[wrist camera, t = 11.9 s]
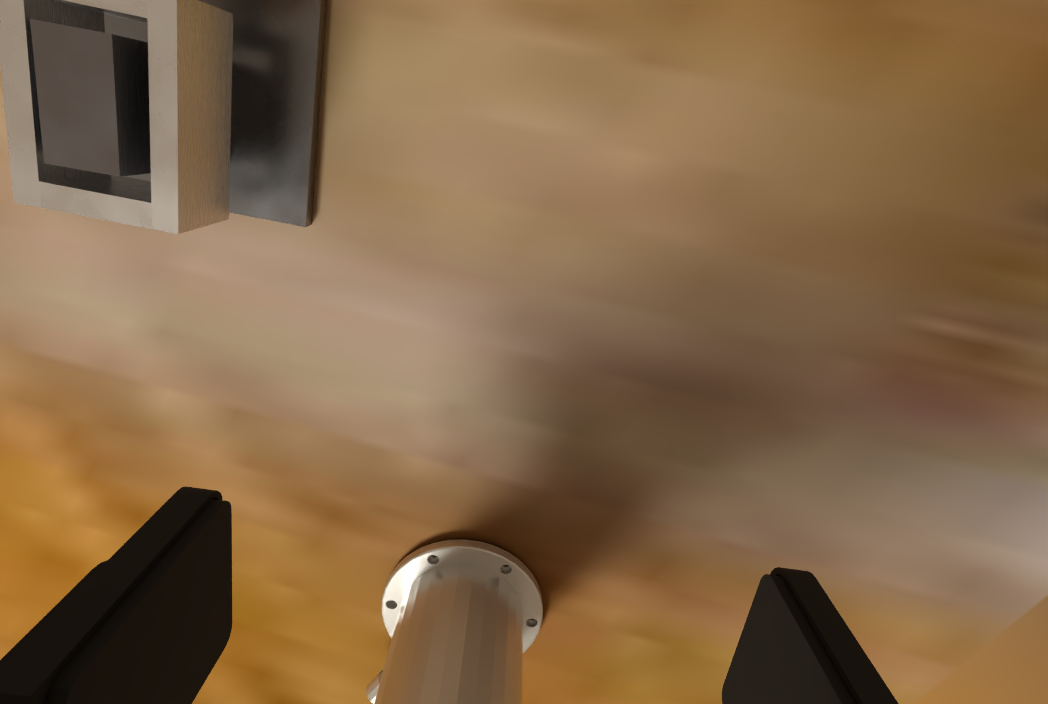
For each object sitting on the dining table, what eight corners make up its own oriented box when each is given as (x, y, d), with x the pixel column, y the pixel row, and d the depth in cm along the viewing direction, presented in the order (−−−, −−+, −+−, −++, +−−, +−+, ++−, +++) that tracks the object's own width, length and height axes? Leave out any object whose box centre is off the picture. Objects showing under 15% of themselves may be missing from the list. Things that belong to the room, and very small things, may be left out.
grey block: (228, 164, 35) (119, 176, 26) (173, 154, 35) (44, 163, 26) (228, 60, 34) (111, 34, 24) (170, 50, 33) (29, 18, 24)
